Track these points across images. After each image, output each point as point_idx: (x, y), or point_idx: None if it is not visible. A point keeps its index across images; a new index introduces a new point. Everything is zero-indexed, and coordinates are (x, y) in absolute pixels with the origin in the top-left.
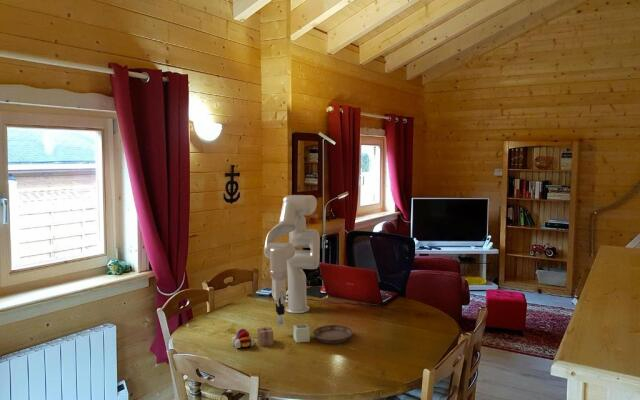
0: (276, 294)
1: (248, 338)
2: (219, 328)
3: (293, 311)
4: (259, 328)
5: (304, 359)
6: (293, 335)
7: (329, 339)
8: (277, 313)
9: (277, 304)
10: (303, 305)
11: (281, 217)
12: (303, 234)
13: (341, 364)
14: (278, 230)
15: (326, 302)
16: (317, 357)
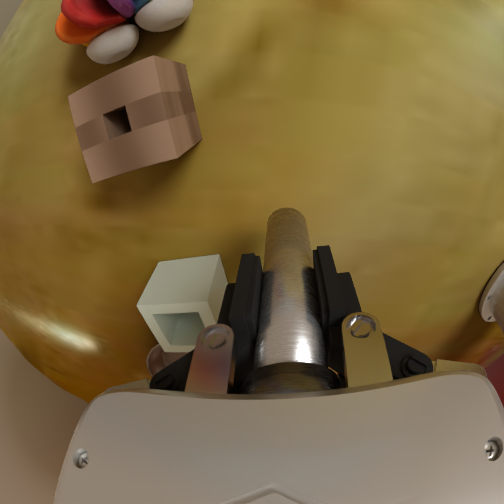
0: (58, 484)
1: (64, 41)
2: None
3: (498, 277)
4: (141, 75)
5: (41, 269)
6: (213, 262)
7: (146, 361)
8: (243, 259)
9: (281, 332)
10: (496, 318)
11: None
12: None
13: (52, 334)
14: None
15: (494, 347)
16: (62, 302)
